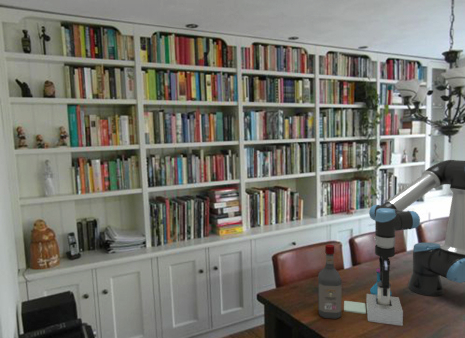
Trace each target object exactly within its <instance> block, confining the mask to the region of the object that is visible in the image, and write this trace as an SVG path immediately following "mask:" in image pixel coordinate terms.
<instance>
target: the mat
mask: <svg viewBox="0 0 465 338" xmlns="http://www.w3.org/2000/svg"><path fill="white" fill-rule="evenodd" d="M343 312H347V313H353V314H354V313H355V314H364V315H366V314H367V307H366V303H365V302H358V301H351V300H350V301H349V300H344V301H343Z"/></svg>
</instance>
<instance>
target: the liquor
mask: <svg viewBox="0 0 465 338" xmlns="http://www.w3.org/2000/svg"><path fill="white" fill-rule="evenodd" d="M324 247H325V250H324V252H325V264H324V267H323V268H322V269H321V270H320V271H319V273H318V274H317V275H318V281H317V282H318V283H317V285H318V286H317V289H318V290H317V292H318V293H317V294H318V295H317V301H318V302H317V309H318V314H319V316H320V317H322V318H324V319H333V320H334V319H335V320H337V319H338V318H341V316H342V279H341V275H340V273H339V272H338V270H337V269H336V267H335V265H334V264H335V263H334V262H335V261H334V258H335V257H334V254H335V245H333V244H325V246H324Z"/></svg>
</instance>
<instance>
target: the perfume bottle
mask: <svg viewBox="0 0 465 338" xmlns="http://www.w3.org/2000/svg"><path fill="white" fill-rule="evenodd" d="M375 271H376V283H375V284H373V286H372V287H370V289H369V290H370V294H373V295H378V286H377V282H380V267H379V268H376V269H375ZM392 294H393V293H392V290H391V289H390V296H391V297H392Z"/></svg>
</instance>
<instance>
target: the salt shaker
mask: <svg viewBox="0 0 465 338" xmlns="http://www.w3.org/2000/svg"><path fill="white" fill-rule="evenodd" d="M376 282H377V281H376ZM377 286H378V305H386V306H390V290H391V287H392V286H391V283H390V282H389V289H388V303H381V288H380V286H382V281H380V282H377Z"/></svg>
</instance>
